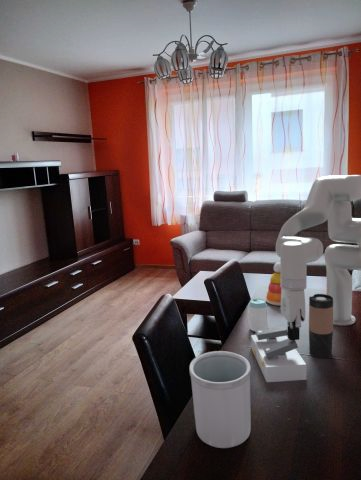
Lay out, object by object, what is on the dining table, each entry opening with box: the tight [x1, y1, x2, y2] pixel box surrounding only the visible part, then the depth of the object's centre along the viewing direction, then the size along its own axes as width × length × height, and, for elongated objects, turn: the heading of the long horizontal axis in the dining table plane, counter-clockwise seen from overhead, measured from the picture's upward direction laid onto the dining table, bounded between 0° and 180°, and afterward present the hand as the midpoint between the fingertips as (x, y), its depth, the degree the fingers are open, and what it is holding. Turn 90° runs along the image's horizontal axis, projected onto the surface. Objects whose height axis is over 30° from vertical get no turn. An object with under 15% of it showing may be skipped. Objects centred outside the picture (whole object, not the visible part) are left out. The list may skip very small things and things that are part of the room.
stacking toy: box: [264, 261, 282, 307], centre depth 175 cm, size 14×14×20 cm
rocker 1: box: [255, 325, 288, 340], centre depth 128 cm, size 4×10×2 cm, turn 91°
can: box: [248, 298, 268, 333], centre depth 148 cm, size 7×7×12 cm
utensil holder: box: [189, 350, 252, 449], centre depth 93 cm, size 15×15×18 cm
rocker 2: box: [263, 338, 299, 359], centre depth 117 cm, size 4×10×2 cm, turn 91°
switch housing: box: [250, 334, 307, 383], centre depth 123 cm, size 22×12×6 cm, turn 1°
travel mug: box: [308, 293, 334, 359], centre depth 127 cm, size 8×8×20 cm
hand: (293, 338), depth 117 cm, fingers closed
